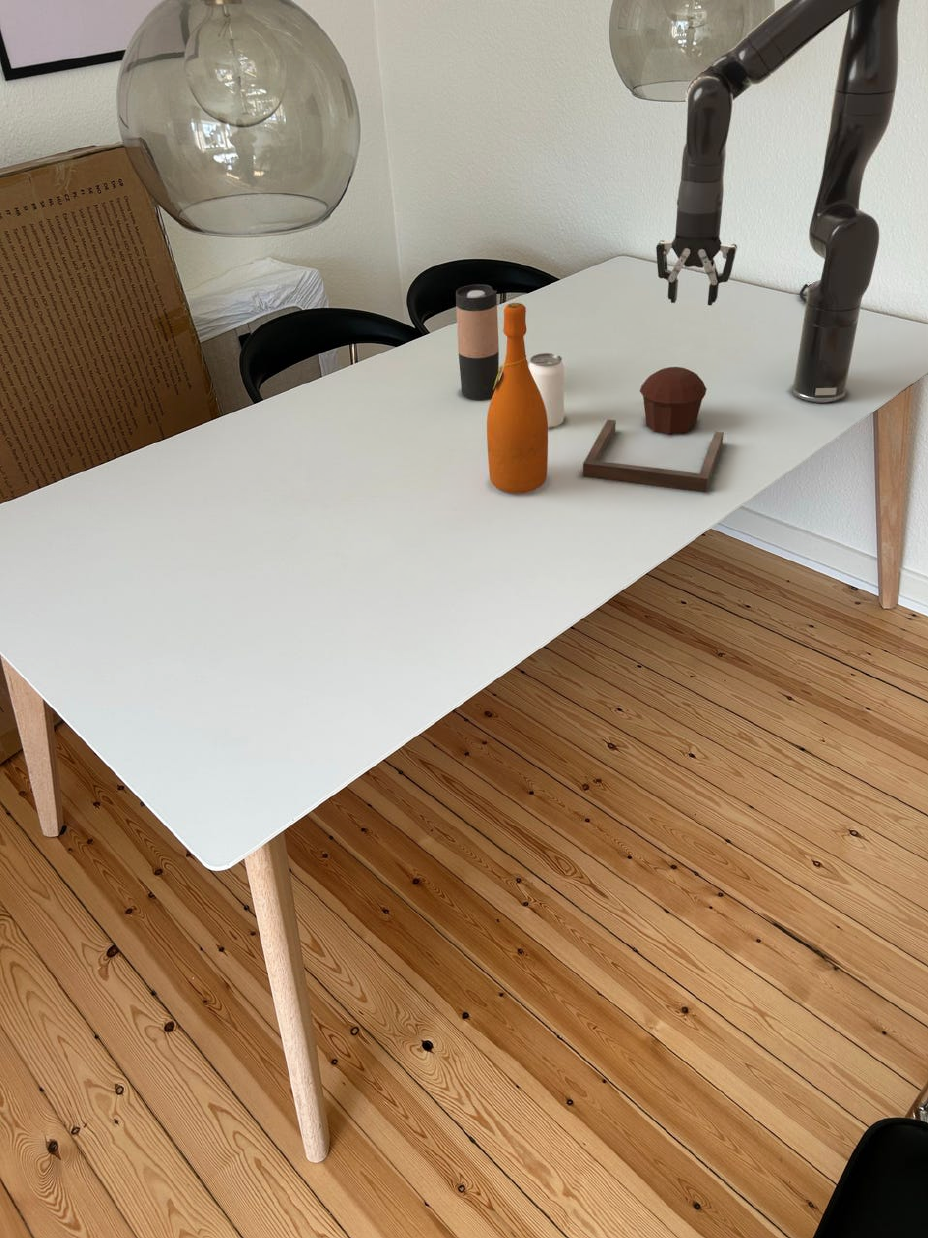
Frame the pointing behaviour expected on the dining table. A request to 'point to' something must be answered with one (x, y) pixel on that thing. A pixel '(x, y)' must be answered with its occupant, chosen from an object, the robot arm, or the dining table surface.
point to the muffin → (672, 400)
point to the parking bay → (648, 474)
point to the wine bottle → (517, 416)
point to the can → (550, 384)
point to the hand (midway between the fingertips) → (691, 302)
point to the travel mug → (477, 340)
